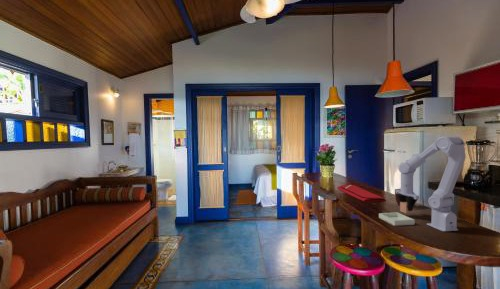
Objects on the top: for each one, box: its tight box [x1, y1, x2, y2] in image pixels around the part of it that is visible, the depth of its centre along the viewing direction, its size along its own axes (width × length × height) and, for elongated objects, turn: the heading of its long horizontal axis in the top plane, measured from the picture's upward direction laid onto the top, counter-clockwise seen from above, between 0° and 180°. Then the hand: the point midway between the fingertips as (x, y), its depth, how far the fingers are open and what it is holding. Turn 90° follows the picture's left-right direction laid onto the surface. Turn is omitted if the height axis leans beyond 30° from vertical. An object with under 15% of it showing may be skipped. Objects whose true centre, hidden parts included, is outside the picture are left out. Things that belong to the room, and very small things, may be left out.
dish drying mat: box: [337, 184, 386, 203], centre depth 189 cm, size 16×41×4 cm, turn 6°
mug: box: [394, 188, 409, 207], centre depth 156 cm, size 11×8×10 cm
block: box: [399, 202, 415, 214], centre depth 137 cm, size 4×4×5 cm
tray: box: [378, 211, 416, 227], centre depth 130 cm, size 12×11×2 cm
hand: (406, 209), depth 137 cm, fingers closed on block, 4 cm apart
